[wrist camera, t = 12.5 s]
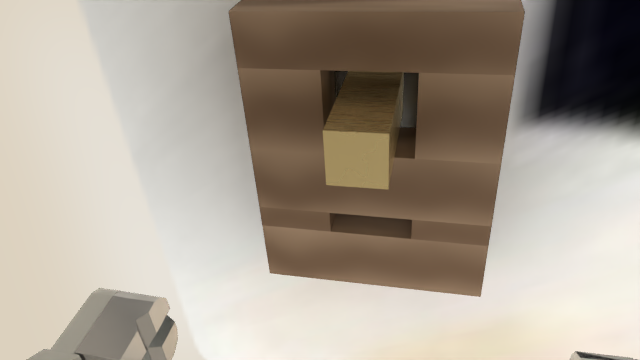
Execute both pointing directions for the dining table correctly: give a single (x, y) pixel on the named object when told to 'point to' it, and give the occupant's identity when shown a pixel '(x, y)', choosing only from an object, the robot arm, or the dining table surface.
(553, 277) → the dining table surface
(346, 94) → the square bit
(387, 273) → the wooden slotted board
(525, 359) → the dining table surface
